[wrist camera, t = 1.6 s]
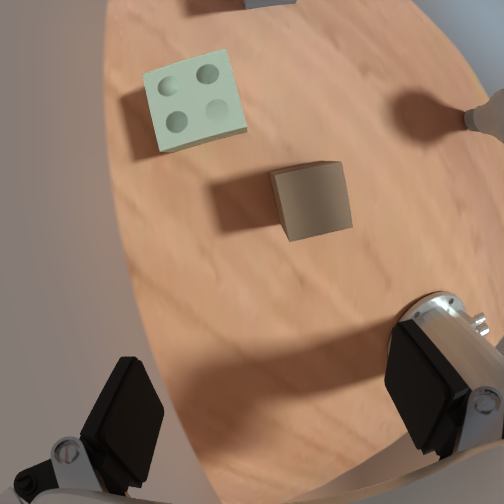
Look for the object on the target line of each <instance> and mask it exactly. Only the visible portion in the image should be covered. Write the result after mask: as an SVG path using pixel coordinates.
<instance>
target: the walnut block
mask: <svg viewBox="0 0 504 504" xmlns="http://www.w3.org/2000/svg"><path fill="white" fill-rule="evenodd" d="M269 176H270V180H271V184H272V189H273V193H274V197H275V201H276V206H277V210H278V215H279V219H280V223H281V226H282V228H283V230H284V232H285V234H286V236H287V238H288V240H289V242H292V241H296V240H301V239H305V238H309V237H313V236H318V235H322V234H326V233H330V232H335V231H339V230H343V229H347V228H351V227H353V224H352V217H351V211H350V205H349V199H348V193H347V187H346V182H345V176H344V171H343V166H342V162H338V161H318V162H313V163H308V164H303V165H298V166H293V167H288V168H284V169H279V170H274V171H270V172H269Z"/></svg>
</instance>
